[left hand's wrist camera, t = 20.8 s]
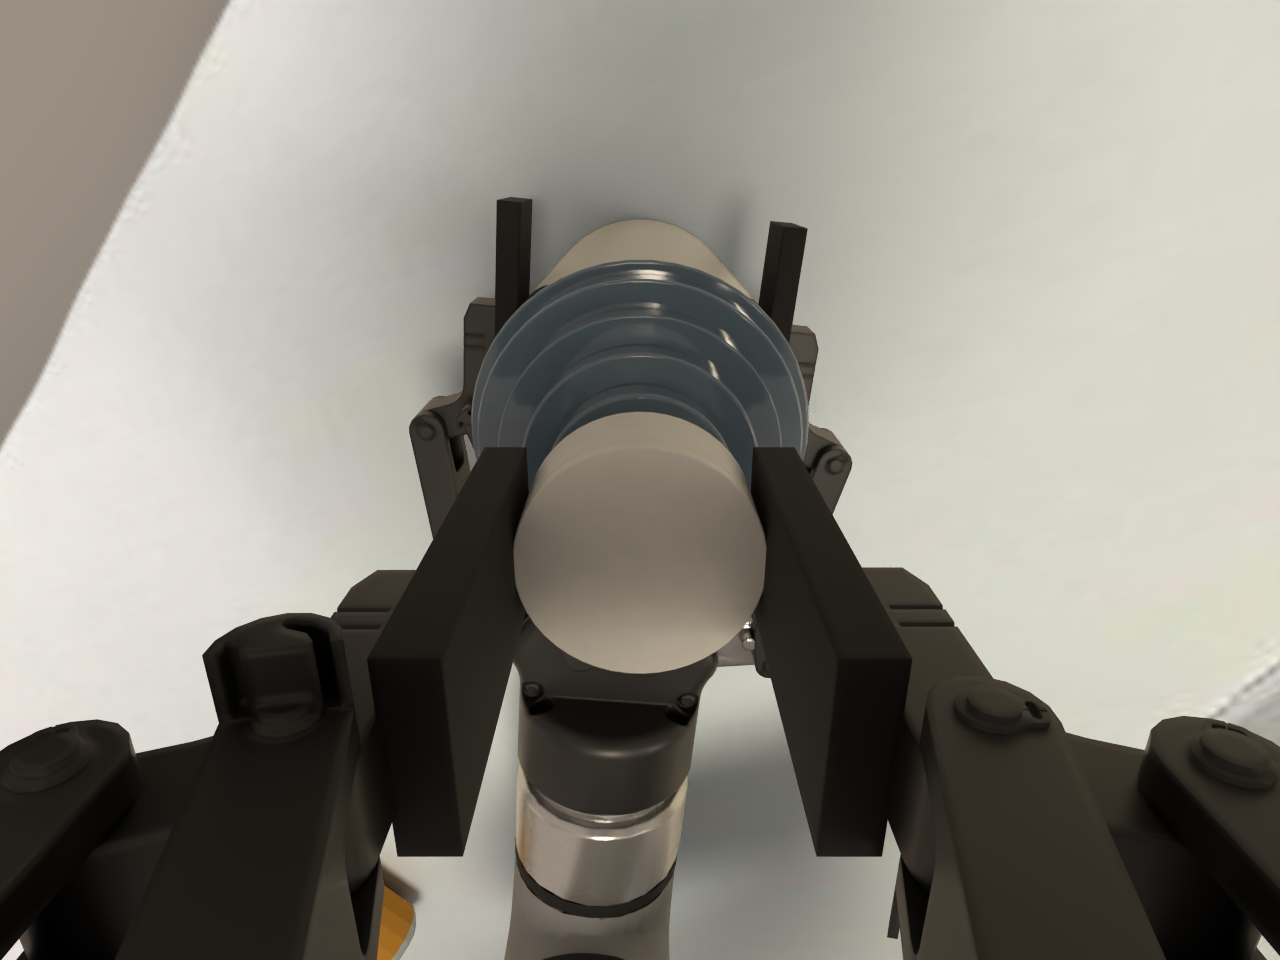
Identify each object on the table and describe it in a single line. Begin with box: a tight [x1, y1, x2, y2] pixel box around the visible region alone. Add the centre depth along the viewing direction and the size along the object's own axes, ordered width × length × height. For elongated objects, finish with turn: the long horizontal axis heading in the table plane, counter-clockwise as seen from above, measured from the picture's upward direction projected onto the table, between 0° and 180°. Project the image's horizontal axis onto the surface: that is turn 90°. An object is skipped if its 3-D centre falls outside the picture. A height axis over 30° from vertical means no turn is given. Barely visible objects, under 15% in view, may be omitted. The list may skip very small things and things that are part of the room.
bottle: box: [471, 219, 809, 492], centre depth 23 cm, size 8×8×22 cm
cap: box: [513, 412, 766, 674], centre depth 13 cm, size 4×4×2 cm
